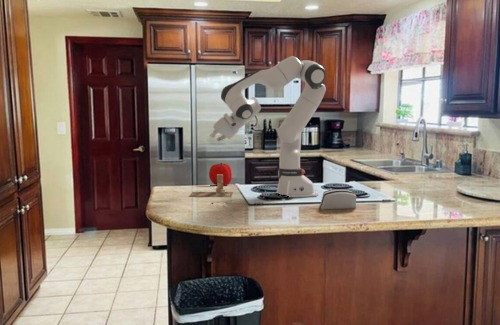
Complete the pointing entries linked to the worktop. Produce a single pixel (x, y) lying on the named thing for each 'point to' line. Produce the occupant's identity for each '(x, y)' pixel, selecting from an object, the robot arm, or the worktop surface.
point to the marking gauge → (220, 185)
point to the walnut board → (210, 194)
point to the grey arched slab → (338, 199)
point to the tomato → (220, 169)
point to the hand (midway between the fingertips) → (214, 138)
